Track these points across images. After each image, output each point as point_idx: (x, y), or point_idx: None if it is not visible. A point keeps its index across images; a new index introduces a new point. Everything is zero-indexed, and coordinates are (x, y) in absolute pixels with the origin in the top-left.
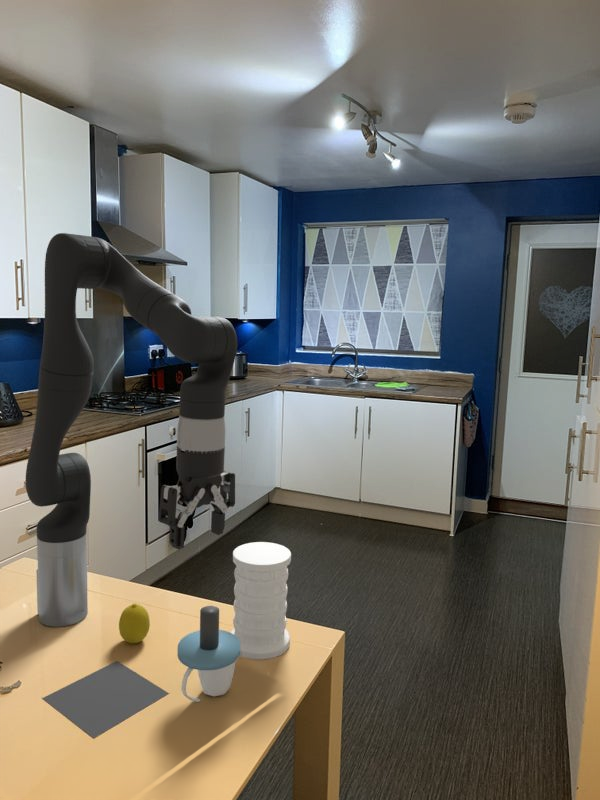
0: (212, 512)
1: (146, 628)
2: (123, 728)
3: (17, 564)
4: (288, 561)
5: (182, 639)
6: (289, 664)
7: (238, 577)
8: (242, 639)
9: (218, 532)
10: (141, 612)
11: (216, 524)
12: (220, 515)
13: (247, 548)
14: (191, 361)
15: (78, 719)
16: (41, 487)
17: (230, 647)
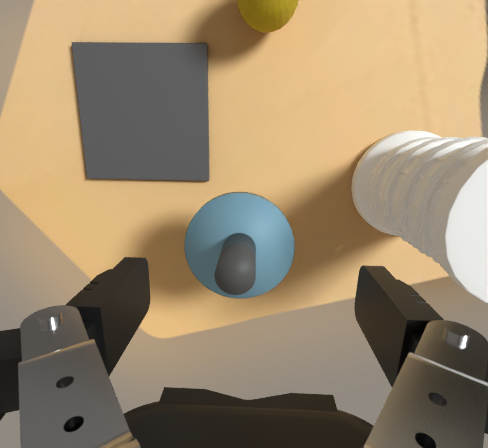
0: (403, 321)
1: (273, 29)
2: (129, 184)
3: None
4: None
5: (220, 199)
6: (377, 256)
7: (429, 190)
8: (370, 183)
9: (358, 311)
10: (271, 4)
11: (371, 318)
12: (391, 382)
13: None
14: None
15: (89, 130)
16: None
17: (258, 279)
